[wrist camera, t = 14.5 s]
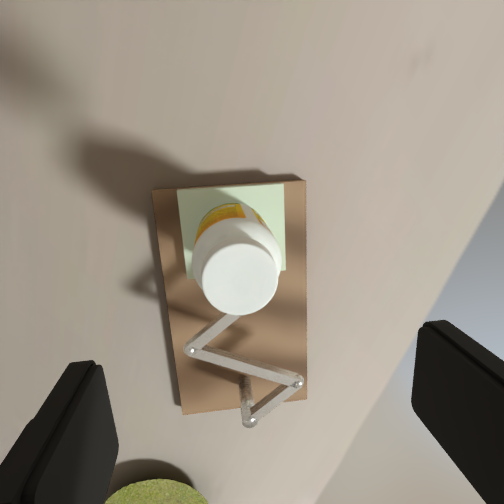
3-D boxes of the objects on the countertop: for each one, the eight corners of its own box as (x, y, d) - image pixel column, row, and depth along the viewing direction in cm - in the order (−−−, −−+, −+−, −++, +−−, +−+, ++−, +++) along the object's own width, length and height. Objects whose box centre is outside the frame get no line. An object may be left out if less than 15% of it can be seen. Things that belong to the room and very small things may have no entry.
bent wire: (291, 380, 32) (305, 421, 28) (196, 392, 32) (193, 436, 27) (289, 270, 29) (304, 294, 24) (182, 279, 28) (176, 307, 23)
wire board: (304, 392, 34) (307, 399, 33) (183, 407, 33) (182, 415, 32) (302, 179, 28) (306, 180, 27) (153, 189, 27) (151, 191, 26)
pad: (283, 266, 29) (285, 270, 28) (187, 274, 28) (187, 279, 27) (281, 182, 27) (283, 183, 26) (177, 189, 26) (176, 191, 25)
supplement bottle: (276, 216, 27) (310, 252, 17) (250, 276, 28) (268, 340, 19) (211, 189, 25) (210, 213, 16) (186, 254, 27) (173, 310, 18)
